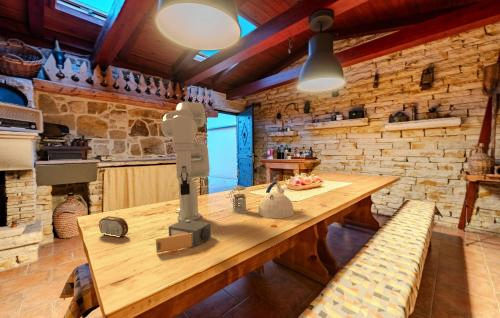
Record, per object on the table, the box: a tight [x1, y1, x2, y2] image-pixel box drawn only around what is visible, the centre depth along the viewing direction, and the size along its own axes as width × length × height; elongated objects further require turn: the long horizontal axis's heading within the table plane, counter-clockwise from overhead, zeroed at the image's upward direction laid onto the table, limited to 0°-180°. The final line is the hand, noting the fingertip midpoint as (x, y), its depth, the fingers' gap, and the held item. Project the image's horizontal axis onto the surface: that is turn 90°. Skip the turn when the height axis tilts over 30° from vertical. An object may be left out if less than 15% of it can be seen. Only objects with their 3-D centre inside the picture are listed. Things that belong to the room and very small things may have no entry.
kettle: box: [257, 181, 295, 220], centre depth 120 cm, size 20×21×18 cm
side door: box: [155, 233, 194, 254], centre depth 78 cm, size 13×1×5 cm, turn 111°
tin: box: [98, 216, 129, 237], centre depth 94 cm, size 15×3×8 cm, turn 71°
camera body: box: [168, 219, 212, 247], centre depth 88 cm, size 15×10×7 cm, turn 66°
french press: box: [228, 169, 249, 215], centre depth 125 cm, size 10×12×25 cm
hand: (185, 192), depth 82 cm, fingers open, 9 cm apart
